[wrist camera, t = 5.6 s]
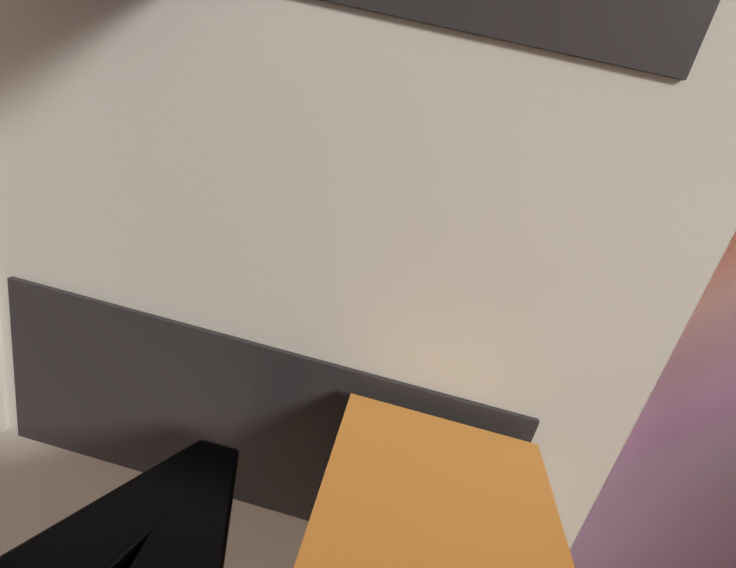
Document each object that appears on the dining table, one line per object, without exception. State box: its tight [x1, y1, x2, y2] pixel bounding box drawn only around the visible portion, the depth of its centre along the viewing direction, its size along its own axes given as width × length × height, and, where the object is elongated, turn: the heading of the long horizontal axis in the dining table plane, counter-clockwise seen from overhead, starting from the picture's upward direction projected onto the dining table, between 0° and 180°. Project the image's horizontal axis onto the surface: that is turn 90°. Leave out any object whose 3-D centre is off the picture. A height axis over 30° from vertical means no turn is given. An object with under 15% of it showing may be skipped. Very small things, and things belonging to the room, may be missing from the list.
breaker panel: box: [0, 0, 736, 568], centre depth 8 cm, size 12×22×6 cm, turn 168°
